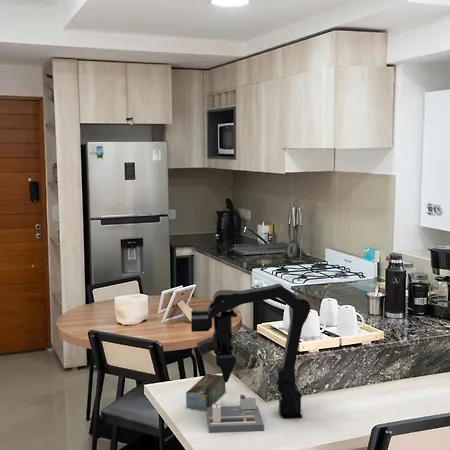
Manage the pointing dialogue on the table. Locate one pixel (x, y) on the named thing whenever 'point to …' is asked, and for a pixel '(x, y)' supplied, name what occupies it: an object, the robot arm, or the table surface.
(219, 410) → the fader tab
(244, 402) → the grey rectangular block
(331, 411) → the table surface
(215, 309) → the robot arm
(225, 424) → the console board
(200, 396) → the weathered grey box
